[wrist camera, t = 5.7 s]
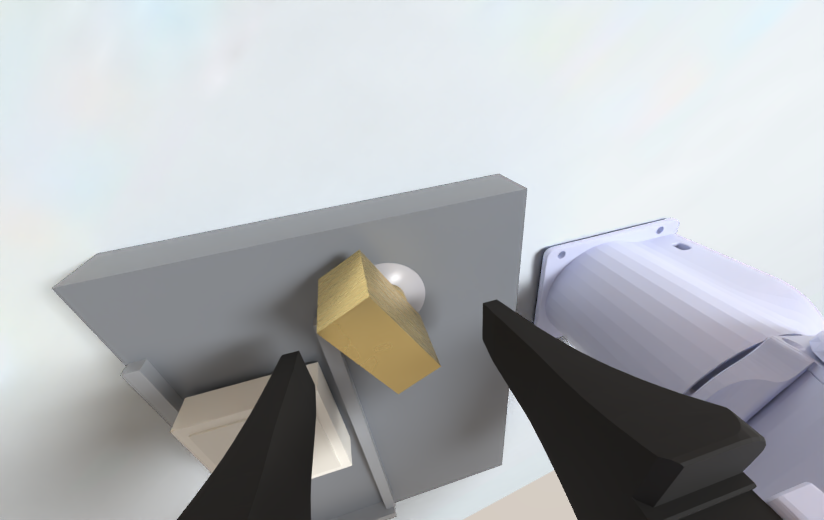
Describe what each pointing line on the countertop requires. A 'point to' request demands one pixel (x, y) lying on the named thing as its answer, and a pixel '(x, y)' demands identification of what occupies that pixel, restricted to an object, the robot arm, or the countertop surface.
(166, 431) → the countertop surface
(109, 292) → the grey slotted tray
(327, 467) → the cover
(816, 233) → the countertop surface
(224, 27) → the countertop surface
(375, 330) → the gold metal block
